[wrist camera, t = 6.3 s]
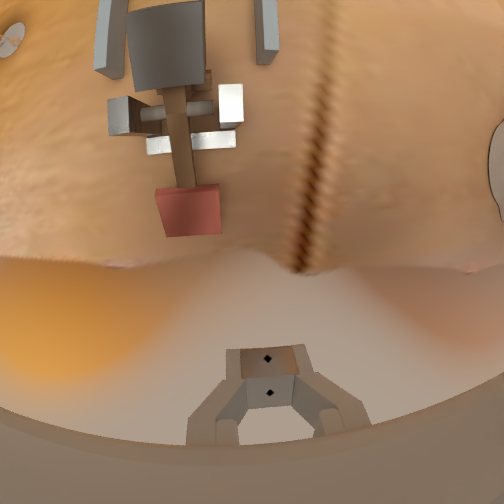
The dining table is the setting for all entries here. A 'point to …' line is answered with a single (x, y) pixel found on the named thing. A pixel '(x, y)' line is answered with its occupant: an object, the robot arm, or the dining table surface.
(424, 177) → the dining table surface
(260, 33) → the grey u-shaped bracket
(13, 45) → the wineglass
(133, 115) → the stand
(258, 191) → the dining table surface
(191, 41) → the lever
